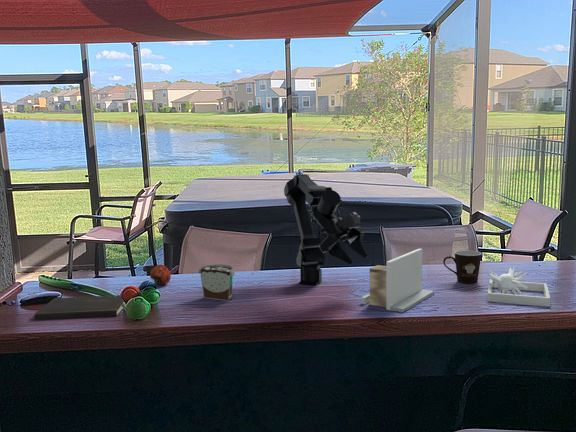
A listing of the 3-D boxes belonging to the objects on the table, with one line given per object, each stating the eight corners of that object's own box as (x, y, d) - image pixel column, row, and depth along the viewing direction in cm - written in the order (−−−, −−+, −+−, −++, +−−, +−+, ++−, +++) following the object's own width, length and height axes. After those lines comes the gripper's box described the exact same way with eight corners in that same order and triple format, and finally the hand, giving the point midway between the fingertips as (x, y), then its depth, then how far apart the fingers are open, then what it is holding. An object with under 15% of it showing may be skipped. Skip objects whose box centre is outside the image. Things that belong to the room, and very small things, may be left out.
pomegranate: (162, 294, 180) (180, 273, 185) (148, 280, 177) (167, 258, 182) (152, 292, 186) (170, 271, 191) (138, 279, 182) (157, 258, 187)
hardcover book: (54, 305, 165) (54, 298, 165) (129, 301, 167) (128, 294, 167) (34, 322, 149) (33, 314, 149) (116, 318, 151) (116, 310, 151)
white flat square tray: (487, 301, 156) (487, 293, 156) (489, 286, 171) (489, 279, 171) (549, 306, 150) (550, 298, 149) (546, 291, 165) (546, 283, 165)
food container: (243, 296, 168) (241, 265, 167) (233, 301, 162) (231, 270, 161) (210, 292, 173) (209, 262, 172) (199, 297, 168) (198, 267, 166)
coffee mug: (483, 280, 179) (484, 251, 178) (477, 286, 172) (478, 256, 171) (449, 276, 186) (449, 248, 184) (442, 282, 179) (442, 253, 177)
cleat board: (359, 304, 156) (359, 258, 154) (393, 287, 173) (393, 245, 172) (403, 312, 148) (403, 264, 146) (434, 294, 165) (434, 250, 163)
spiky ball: (489, 290, 171) (487, 265, 171) (530, 290, 166) (528, 264, 165) (486, 299, 161) (484, 272, 161) (529, 299, 156) (527, 271, 155)
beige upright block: (369, 304, 156) (369, 268, 154) (377, 300, 160) (377, 265, 158) (388, 308, 152) (388, 271, 151) (395, 303, 156) (395, 267, 155)
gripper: (327, 208, 153) (361, 249, 148) (359, 201, 168) (390, 238, 163) (305, 232, 159) (337, 273, 154) (338, 223, 173) (367, 260, 169)
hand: (359, 260), depth 160 cm, fingers open, 9 cm apart
